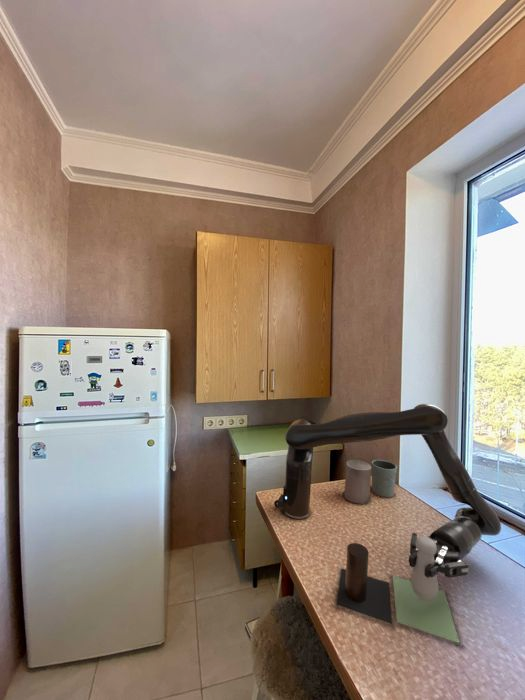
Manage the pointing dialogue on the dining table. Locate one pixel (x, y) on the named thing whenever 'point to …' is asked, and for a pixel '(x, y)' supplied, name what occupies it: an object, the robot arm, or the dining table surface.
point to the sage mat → (423, 611)
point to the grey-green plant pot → (383, 477)
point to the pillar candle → (357, 481)
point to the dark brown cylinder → (356, 572)
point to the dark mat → (368, 599)
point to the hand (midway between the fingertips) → (418, 567)
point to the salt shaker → (419, 581)
